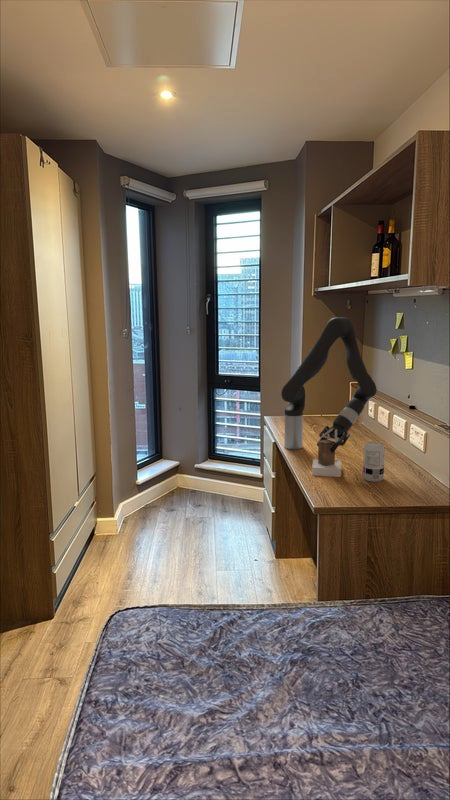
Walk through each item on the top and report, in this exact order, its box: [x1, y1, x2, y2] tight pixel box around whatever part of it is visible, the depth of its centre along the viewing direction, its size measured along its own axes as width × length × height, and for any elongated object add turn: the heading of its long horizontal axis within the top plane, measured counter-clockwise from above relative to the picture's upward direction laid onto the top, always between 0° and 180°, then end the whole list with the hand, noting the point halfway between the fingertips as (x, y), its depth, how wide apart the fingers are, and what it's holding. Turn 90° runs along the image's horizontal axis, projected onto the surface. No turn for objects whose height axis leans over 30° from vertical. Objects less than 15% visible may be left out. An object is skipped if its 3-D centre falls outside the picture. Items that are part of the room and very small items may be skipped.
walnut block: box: [317, 439, 336, 466], centre depth 218 cm, size 5×5×10 cm
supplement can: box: [362, 441, 386, 483], centre depth 207 cm, size 8×8×15 cm
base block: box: [311, 458, 342, 478], centre depth 219 cm, size 12×12×4 cm
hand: (324, 448), depth 217 cm, fingers open, 8 cm apart
